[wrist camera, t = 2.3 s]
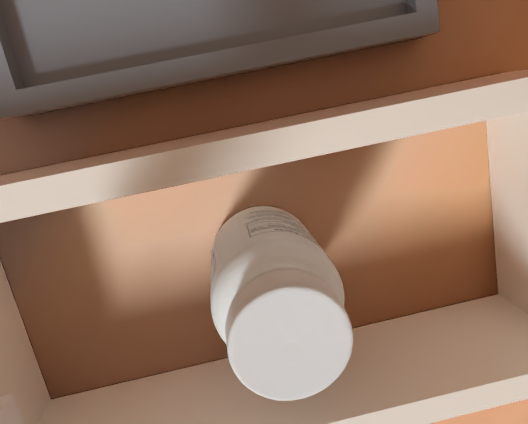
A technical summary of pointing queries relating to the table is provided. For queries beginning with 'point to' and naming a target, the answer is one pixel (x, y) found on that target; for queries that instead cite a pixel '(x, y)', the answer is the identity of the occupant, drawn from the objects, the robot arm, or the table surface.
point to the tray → (178, 42)
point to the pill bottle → (278, 305)
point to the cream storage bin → (364, 338)
